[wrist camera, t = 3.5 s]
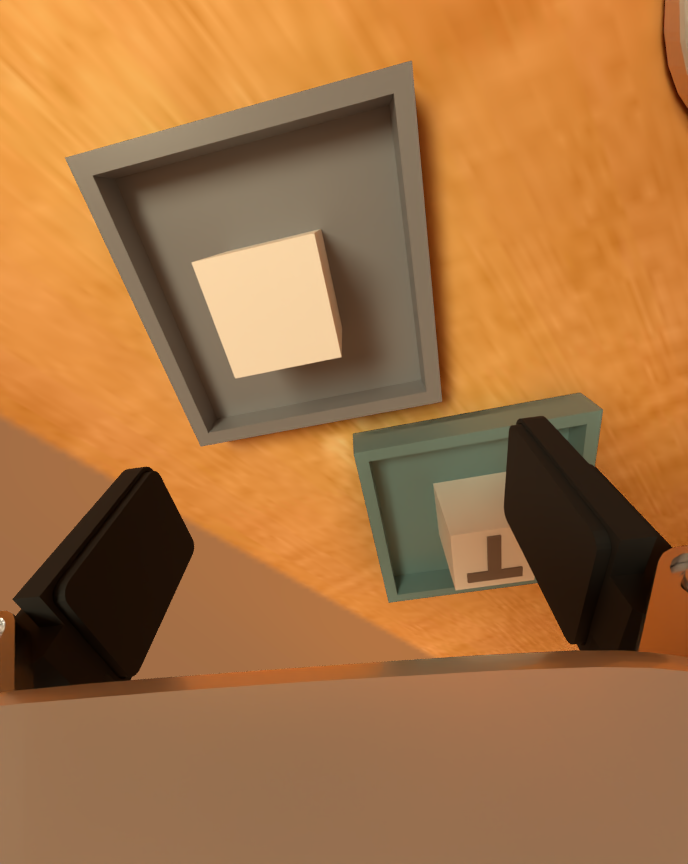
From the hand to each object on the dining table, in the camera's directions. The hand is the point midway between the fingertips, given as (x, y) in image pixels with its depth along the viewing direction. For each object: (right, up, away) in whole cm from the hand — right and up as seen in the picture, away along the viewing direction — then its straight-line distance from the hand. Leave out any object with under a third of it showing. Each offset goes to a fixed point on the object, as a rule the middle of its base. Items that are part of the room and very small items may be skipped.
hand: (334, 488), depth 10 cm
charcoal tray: (-3, +9, +11) cm, 14 cm away
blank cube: (-3, +9, +10) cm, 14 cm away
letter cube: (+9, -4, +17) cm, 20 cm away
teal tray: (+9, -3, +18) cm, 21 cm away
